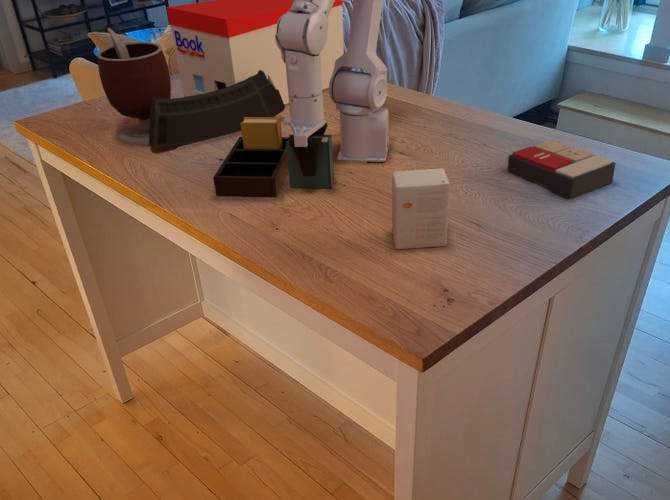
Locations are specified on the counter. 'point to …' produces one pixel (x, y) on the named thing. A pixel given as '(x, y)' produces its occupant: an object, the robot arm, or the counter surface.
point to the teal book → (323, 170)
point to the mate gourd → (134, 82)
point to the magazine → (212, 112)
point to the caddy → (252, 172)
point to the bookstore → (240, 43)
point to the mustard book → (262, 133)
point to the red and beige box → (562, 168)
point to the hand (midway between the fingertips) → (311, 170)
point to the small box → (420, 208)
